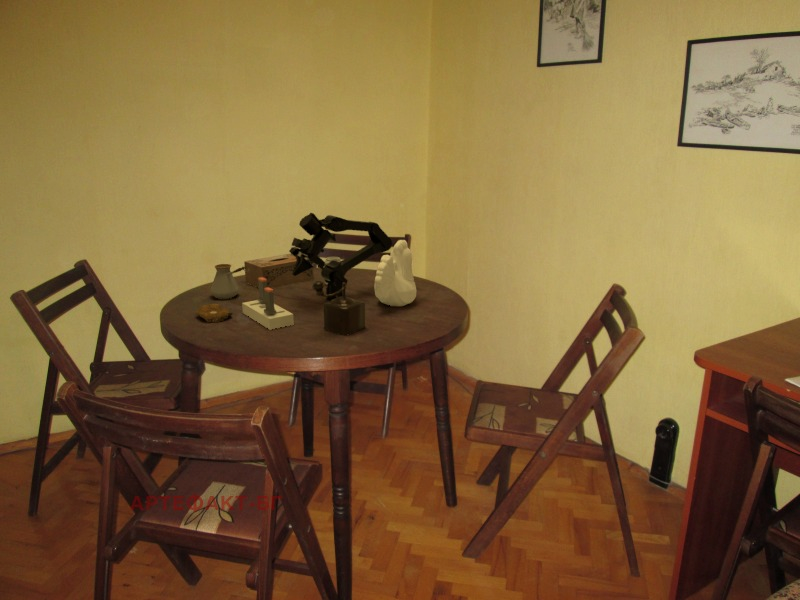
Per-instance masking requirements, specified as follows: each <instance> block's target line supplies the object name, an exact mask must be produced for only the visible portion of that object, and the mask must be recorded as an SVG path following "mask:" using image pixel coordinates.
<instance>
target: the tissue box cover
mask: <svg viewBox="0 0 800 600" xmlns="http://www.w3.org/2000/svg"><path fill="white" fill-rule="evenodd" d="M296 261H297V260H296V257H295V256H294V255H293V254H291V253H286V254H281V255H280V254H279V255H274V256H268V257H263V258H257V259H251V260H244V262H243V264H244V266H247V268H245V269H244V270H245V271H244V273H245V274H244V275H245V277H244V278H245V284H247V283H249V284H248V285H250V284H251V285H250V286H252V285H254V286H253V287H255V286H256V287H255V288H257V287H259V283H258V278H261V277H263V278H265V279H267V287H269V288H271V289H273V288H272V287H274V288H278V287H277V286H279V287H283V286H282V285H284V286H288V284H289V285H293V283H294V284H297V283H303V282H308V281H313V280H314V267H313V268H310V269H308V270H306V271H304V272H302V273H300V274H298V275H296V276H294V275H292V273H293V270H294V268H295V265H296ZM248 270H249V271H248Z"/></svg>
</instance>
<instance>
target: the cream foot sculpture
mask: <svg viewBox="0 0 800 600" xmlns="http://www.w3.org/2000/svg"><path fill="white" fill-rule="evenodd" d="M389 254H390V255H389ZM389 254H384V255H382V256H381V258H380V262H379V264H378V266H377V269H376V272H375V274H376V275H375V278H374V287H373V288H374V295H375V297H376V298H378V300H379V301H380V303H382V304H385V305H387V306H389V305H390V307H404V306H406V305H408V304H411V303H413V301H414V300H415V299H416V297H417V286H416V282H415V278H414V273H413V265H412V264H413V255H412V254H413V253H412V251H411V249H410V248H409V246H408V242H407V241H406V240H405V239H398V240H397V241H396V243H395V244H394V246H393V248H392V250H391V251H390V253H389Z"/></svg>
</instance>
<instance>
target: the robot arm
mask: <svg viewBox="0 0 800 600" xmlns="http://www.w3.org/2000/svg"><path fill="white" fill-rule="evenodd" d="M298 225H299V226H300V227H301V229H302V230H304V231H305V232H306V233H307V234H308V235H309V236H313V237H311V239H307V238H302V239H299V238H296V237H293V239H292V242H291V246H292V247H291V248H290V249H289V250H288V252H289V254H293V255H294V256H295V257H296V260H297V261H296V265H295V268H294V270H293V273H292V275H294V276H296V275H298V274H300V273H302V272H304V271H306V270H308V269H310V268H313V269H314V264H315V265H316V266H317V268H318V269H320V270H321V272H320V274H321V277H322V279H323V280H324V283H325V282H326V283H328V284H327V285H326V288H325V292H326V293H325V295H329V294H333V293H335V292H337V291H339V290H340V289H342V286H343V285H342V283H343V282H345V283H346V285H347V283H348V279H347V278H346V277H345V276H346V274H347V272H349V271H350V270H352V269H353V268H354V267H356V266H358V265H360V264H361V263H363V262H364V261H366V260H367V259H369V258H370V257H372V256H374V255H377V254H382V253H385V252H388V251H390V250H391V249H392V245H393V241H392V239H391V238H390V237H389V236H388V235H387V233H386V232H385V231H384V230H383V229H382V228H381V226H380V225H379V224H378V223H377V222H374V221H363V220H362V221H360V220H352V219H351V220H350V219H345V218H342V217H339V216H336V215H335V216H334V215H331V214H330V215H329V214H328V215H326V217H324V218H322V219H319V218H318V217H317V216H316V214H314V213H313V212H310V213H309V214H307V215H305V216H304V217H302V218H301V219H300V220H299V224H298ZM330 231H331V232H334V233H331V232H330ZM345 231H358V232H367V233H368V237H369V239H370V240H369V241H368V243H367V244H366V245H365V246H363V247H361V249H359V250H356V251H355V252H354V253H352V254H350V255H348V256H347V257H345V258H344V259H342V260H341V261H340V262H337V261H334V260H332V261H331V262H329V263H328V264H325V260H323V259H322V258H321V257H320V256H319V255H320V254H322V253H324V252H325V250H324V249H325V247H326V246H327V245H328V243H329V242H330V241H332V242H336V241H337V239H336V234H335V233H339V232H345ZM337 295H338V297H341V296H343V291H342V292H341V293H339V294H337ZM333 299H336V295H335V296H332V297H326V299H325V301H329V302H330V301H331V300H333Z"/></svg>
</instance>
